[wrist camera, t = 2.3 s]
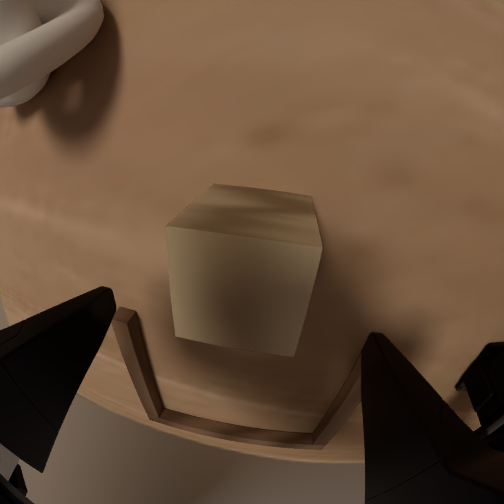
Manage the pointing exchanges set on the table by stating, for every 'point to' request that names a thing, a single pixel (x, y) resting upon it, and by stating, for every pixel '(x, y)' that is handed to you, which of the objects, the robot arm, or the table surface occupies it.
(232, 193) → the oak block
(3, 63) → the white decorative knot
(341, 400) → the bay
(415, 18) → the table surface
